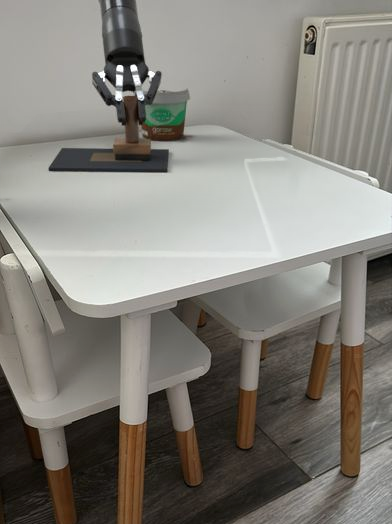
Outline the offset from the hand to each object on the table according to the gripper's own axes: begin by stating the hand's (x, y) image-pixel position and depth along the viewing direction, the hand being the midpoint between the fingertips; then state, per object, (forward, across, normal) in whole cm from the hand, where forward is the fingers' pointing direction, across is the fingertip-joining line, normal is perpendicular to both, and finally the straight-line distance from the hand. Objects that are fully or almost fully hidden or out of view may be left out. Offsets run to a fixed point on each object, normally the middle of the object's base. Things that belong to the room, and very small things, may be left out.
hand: (132, 122), depth 104 cm
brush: (+3, 0, -6) cm, 7 cm away
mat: (+4, +4, -7) cm, 9 cm away
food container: (-8, -9, -19) cm, 22 cm away
